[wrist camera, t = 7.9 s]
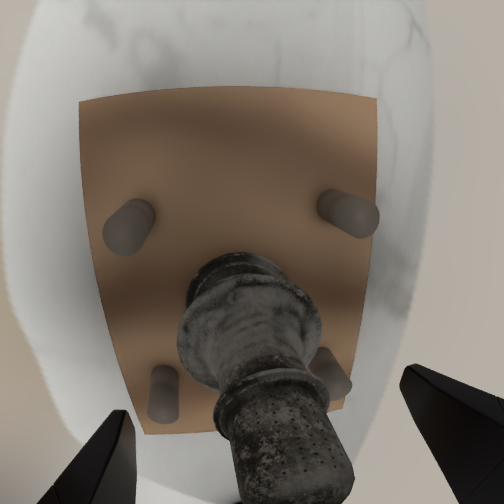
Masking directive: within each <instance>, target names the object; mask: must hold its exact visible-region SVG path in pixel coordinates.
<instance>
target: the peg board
mask: <svg viewBox="0 0 504 504" xmlns="http://www.w3.org/2000/svg"><path fill="white" fill-rule="evenodd" d="M79 141H80V161H81V175H82V186H83V196H84V205H85V213H86V221H87V228H88V235H89V241H90V247H91V253H92V259H93V264H94V269H95V274H96V279H97V284H98V288H99V293H100V297H101V302H102V306H103V310H104V314H105V318H106V322H107V325H108V329H109V333H110V336H111V340H112V343H113V347H114V350H115V353H116V357H117V360H118V363H119V366H120V369H121V372H122V375H123V378H124V381H125V384H126V387H127V390H128V393H129V395H130V398H131V401H132V404H133V406H134V409H135V411H136V414H137V416H138V419H139V421H140V424H141V426H142V429H143V431H144V434H181V433H198V432H210V431H217V429H216V428H215V424H214V421H213V411H214V406H215V404H216V402H217V401H218V399H219V397H220V393H218V392H215V391H213V390H211V389H208V388H206V387H204V386H202V385H201V384H199V383H198V382H197V381H196V380H195V379H194V378H192V377H191V376H190V375H189V374H188V372H187V371H186V369H185V368H184V366H183V365H182V363H181V361H180V358H179V354H178V350H177V346H176V345H177V332H178V327H179V324H180V322H181V319H182V317H183V315H184V312H185V311H186V306H185V304H186V294H187V290H188V287H189V285H190V282H191V280H192V278H193V277H194V276H195V275H196V273H197V272H198V271H199V270H200V268H201V267H203V266H204V265H206V264H207V263H208V262H210V261H211V260H212V259H215V258H217V257H220V256H222V255H225V254H228V253H236V252H247V253H255V254H258V255H261V256H263V257H266V258H268V259H270V260H271V261H272V262H274V263H275V264H276V265H278V266H279V267H280V268H281V270H282V271H283V273H284V274H285V275H286V277H287V278H288V281H290V282H293V283H295V284H296V285H297V286H298V287H300V288H301V289H302V290H304V291H305V292H306V293H308V295H309V296H310V298H311V299H312V301H313V302H314V303H315V305H316V306H317V308H318V311H319V314H320V318H321V322H322V332H321V341H320V343H319V346H318V349H317V352H316V354H315V356H314V357H313V359H312V360H311V362H310V363H309V365H308V366H307V367H306V369H307V371H308V372H311V373H312V374H314V375H316V376H318V377H320V378H321V379H322V381H323V382H324V383H325V384H326V385H327V387H328V390H329V393H330V396H331V397H330V406H329V408H328V411H327V412H330V411H334V410H338V409H342V408H343V404H344V400H345V396H346V395H347V394H348V393H349V392H350V390H351V388H352V382H351V381H350V375H351V370H352V366H353V361H354V356H355V351H356V346H357V341H358V336H359V330H360V325H361V319H362V313H363V307H364V300H365V294H366V287H367V279H368V272H369V264H370V255H371V245H372V235H373V232H374V231H375V230H376V228H377V226H378V223H379V211H378V208H377V207H376V205H375V195H376V174H377V99H376V98H370V97H364V96H358V95H351V94H344V93H336V92H328V91H318V90H308V89H295V88H279V87H251V86H221V87H193V88H177V89H165V90H154V91H145V92H136V93H129V94H122V95H115V96H109V97H103V98H97V99H91V100H86V101H81V102H79Z"/></svg>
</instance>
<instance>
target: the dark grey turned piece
mask: <svg viewBox="0 0 504 504" xmlns="http://www.w3.org/2000/svg"><path fill="white" fill-rule="evenodd" d="M185 306H186V311H185V312H184V315H183V317H182V319H181V322H180V324H179V327H178V332H177V345H176V346H177V350H178V354H179V358H180V361H181V363H182V365H183V366H184V368H185V369H186V371H187V372H188V374H189V375H190V376H191V377H192V378H194V379H195V380H196V381H197V382H198V383H199V384H201V385H202V386H204V387H206V388H208V389H211V390H213V391H215V392H218V393H220V397H219V399H218V401H217V402H216V404H215V406H214V411H213V421H214V424H215V428H216V429H217V431H218V432H219V433H220V434H221V436H223V437H224V438H226V439H227V440H229V441H230V444H231V450H232V456H233V462H234V467H235V473H236V478H237V483H238V488H239V494H240V498H241V501H242V503H243V504H342V502H343V501H344V500H345V499H346V498H347V496H349V494H350V492H351V490H352V487H353V483H354V480H355V477H354V471H353V467H352V464H351V462H350V460H349V458H348V456H347V454H346V452H345V450H344V448H343V446H342V444H341V442H340V440H339V438H338V436H337V434H336V432H335V430H334V428H333V426H332V424H331V422H330V420H329V418H328V416H327V414H326V413H327V411H328V408H329V406H330V397H331V396H330V393H329V390H328V387H327V385H326V384H325V383H324V382H323V381H322V379H321V378H320V377H318V376H316V375H314V374H312V373H311V372H308V371H307V369H306V367H307V366H308V365H309V363H310V362H311V360H312V359H313V357H314V356H315V354H316V352H317V349H318V346H319V343H320V341H321V332H322V322H321V318H320V314H319V311H318V308H317V306H316V305H315V303H314V302H313V301H312V299H311V298H310V296H309V295H308V293H306V292H305V291H304V290H302V289H301V288H300V287H298V286H297V285H296V284H295V283H293V282H290V281H288V278H287V277H286V275H285V274H284V273H283V271H282V270H281V268H280V267H279V266H278V265H276V264H275V263H274V262H272V261H271V260H270V259H268V258H266V257H263V256H261V255H258V254H255V253H247V252H236V253H228V254H225V255H222V256H220V257H217V258H215V259H212V260H211V261H210V262H208V263H207V264H206V265H204V266H203V267H201V268H200V270H199V271H198V272H197V273H196V275H195V276H194V277H193V278H192V280H191V282H190V285H189V287H188V290H187V294H186V304H185Z"/></svg>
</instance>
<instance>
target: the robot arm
mask: <svg viewBox="0 0 504 504" xmlns="http://www.w3.org/2000/svg"><path fill="white" fill-rule="evenodd" d="M399 386H400V390H401V392H402V395H403V397H404V399H405V402H406V404H407V406H408V408H409V410H410V413H411V415H412V417H413V420H414V422H415V424H416V426H417V427H418V429H419V431H420V433H421V434H422V436H423V438H424V440H425V441H426V443H427V445H428V447H429V449H430V450H431V452H432V454H433V456H434V457H435V459H436V461H437V463H438V465H439V467H440V468H441V471H442V472H443V474H444V476H445V478H446V480H447V482H448V484H449V486H450V487H451V489H452V491H453V493H454V495H455V497H456V499H457V501H458V503H459V504H504V399H502V398H500V397H496V396H495V395H492V394H490V393H487V392H484V391H482V390H479V389H477V388H474V387H472V386H469V385H467V384H465V383H462V382H460V381H457V380H455V379H452V378H450V377H447V376H445V375H443V374H440V373H437V372H435V371H433V370H431V369H428V368H426V367H424V366H421V365H419V364H412V365H409V366H407V367H406V368H405V369H404V372H403V375H402V378H401V381H400V385H399ZM136 482H137V466H136V439H135V428H134V425H133V423H132V420H131V418H130V416H129V413H128V412H127V411H126V410H113V411H112V412H111V413H110V415H109V416H108V417H107V418H106V419H105V421H104V422H103V423H102V424H101V426H100V427H99V428H98V429H97V431H96V432H95V433H94V434H93V435H92V437H91V438H90V439H89V440H88V442H87V443H86V444H85V445H84V446H83V448H82V449H81V450H80V452H79V453H78V454H77V455H76V456H75V458H74V459H73V460H72V461H71V463H70V464H69V465H68V466H67V467H66V469H65V470H64V471H63V472H62V474H61V475H60V476H59V477H58V479H57V480H56V481H55V483H54V485H52V486H51V487H50V488H49V490H48V491H47V492H46V493H45V495H44V496H43V497H42V498H41V499H40V500H39V501H38V503H37V504H135V498H136ZM239 504H243V503H239Z"/></svg>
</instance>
